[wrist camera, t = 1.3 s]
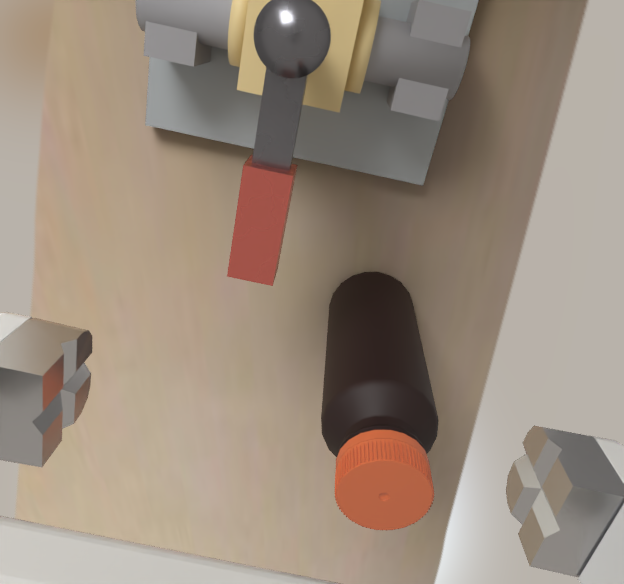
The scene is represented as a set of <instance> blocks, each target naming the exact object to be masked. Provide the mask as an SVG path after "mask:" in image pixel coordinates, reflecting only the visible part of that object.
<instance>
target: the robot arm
mask: <svg viewBox="0 0 624 584" xmlns="http://www.w3.org/2000/svg"><path fill="white" fill-rule="evenodd" d="M91 353H92V335H91V333H90V332H89V330H85V329H80V328H76V327H72V326H67V325H63V324H59V323H54V322H50V321H46V320H41V319H37V318H32V317H29V316H24V315H19V314H14V313H9V312H1V313H0V460H3V461H9V462H14V463H20V464H26V465H32V466H38V467H43V465H44V464H45V463H46V461H47V460H48V459H49V457H50V456H51V455H52V453H53V452H54V450H55V449H56V448H57V446H58V445H59V444H60V442H61V441H62V429H63V428H65V427H67V426H70V425H72V424H74V423H75V421H76V420H77V418H78V417H79V415H80V414H81V412H82V410H83V408H84V405H85V403H86V400H87V398H88V393H89V389H90V381H91V373H90V371H89V369H88V368H87V366H86V365H85V363H84V362H85V360H86V359H87V358H88V357H89V355H90V354H91ZM523 445H524V448H525V451H526V455H524V456H523V457H521V458H519V459H517V460H516V461H514V463H513V465H512V467H511V470H510V472H509V475H508V479H507V487H506V494H507V503H508V506H509V509H510V512H511V514H512V515H513V516H514V517H515V518H516V519H517V520H518V521H519V522H520V523H521V524H522V528H521V529H520V531H519V533H518V535H519V537H520V540H521V543H522V545H523V549H524V551H525V554H526V557H527V560H528V562H529V565H530V566H531V567H536V568H540V569H545V570H549V571H553V572H558V573H562V574H566V575H570V576H575V577H579V578H578V581H580V583H581V584H624V446H623V445H622V444H620V443H619V442H617V441H615V440H611V439H606V438H600V437H594V436H586V435H581V434H576V433H571V432H565V431H560V430H555V429H549V428H544V427H539V426H533V427H532V429H531V430H530V431H529V432H528V433H527V435H526V437H525V440H524V442H523ZM0 584H341V583H336V582H331V581H326V580H321V579H316V578H311V577H306V576H300V575H295V574H290V573H285V572H280V571H275V570H270V569H265V568H260V567H255V566H250V565H245V564H240V563H235V562H230V561H225V560H220V559H215V558H210V557H205V556H200V555H195V554H190V553H185V552H180V551H175V550H170V549H165V548H160V547H155V546H150V545H145V544H139V543H134V542H129V541H124V540H119V539H114V538H109V537H104V536H99V535H94V534H89V533H84V532H79V531H74V530H69V529H64V528H59V527H54V526H49V525H44V524H39V523H34V522H29V521H24V520H19V519H14V518H9V517H4V516H0Z"/></svg>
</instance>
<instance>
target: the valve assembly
mask: <svg viewBox="0 0 624 584" xmlns="http://www.w3.org/2000/svg"><path fill="white" fill-rule="evenodd" d="M269 1H271V0H136V15H137V20H138V24H139V26H140V28H141V30H142V31H145V43H144V56H148V57H150V60H149V76H148V92H147V108H146V124H145V125H147V126H152V127H157V128H161V129H166V130H170V131H175V132H180V133H184V134H189V135H193V136H198V137H202V138H207V139H212V140H216V141H221V142H225V143H230V144H235V145H239V146H244V147H248V148H253V149H254V145H255V138H256V132H257V125H258V118H259V112H260V105H261V99H262V92H263V86H264V79H265V73H266V66H265V65H264V64H263V63H262V61H261V60H260V58H259V56H258V54H257V52H256V48H255V45H254V26H255V22H256V19H257V17H258V15H259V13H260V11H261V10H262V8H263V7H264V6H265V5H266V4H267V3H268V2H269ZM312 1H314V2H315V3H316V4H318V5H319V6H320V7H321V9H322V10H323V11H324V13H325V14H326V16H327V18H328V21H329V24H330V28H331V44H330V48H329V51H328V54H327V56H326V57H325V59H324V61H323V62H322V63H321V65H320V66H319V67H318V68H317V69H316V70H315V71H313V72H312V73H310V74H309V75H308V79H307V84H306V89H305V95H304V100H303V105H302V111H301V116H300V122H299V127H298V132H297V138H296V143H295V148H294V154H293V157H294V158H299V159H303V160H308V161H313V162H317V163H322V164H326V165H331V166H335V167H340V168H345V169H349V170H354V171H358V172H363V173H368V174H372V175H377V176H381V177H386V178H391V179H395V180H400V181H404V182H409V183H413V184H418V185H423V184H424V181H425V177H426V174H427V171H428V167H429V164H430V161H431V157H432V154H433V151H434V147H435V144H436V141H437V137H438V134H439V131H440V127H441V124H442V121H443V118H444V114H445V111H446V108H447V104H448V101H449V100H451V99H452V98H453V97H454V95H455V94H456V92H457V90H458V88H459V85H460V83H461V80H462V77H463V74H464V71H465V68H466V64H467V60H468V55H469V50H470V37H469V36H468V34H469V31H470V28H471V24H472V21H473V18H474V14H475V11H476V8H477V4H478V1H479V0H312Z"/></svg>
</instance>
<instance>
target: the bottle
mask: <svg viewBox="0 0 624 584" xmlns="http://www.w3.org/2000/svg"><path fill="white" fill-rule="evenodd" d="M321 422H322V435H323V437H324V439H325V442H326V444H327V446H328V448H329V450H330V451H331V452H332V453H333V454H334V455H335V456H336V457H337V458H336V474H335V497H336V501H337V502H336V503H337V504H338V506H339V509H341V512H343V513H344V515H346V517H348V518H349V519H350V520H352V521H353V522H355V523H357V524H359V525H361V526H362V527H366V528H370V529H375V530H395V529H399V528H403V527H407V526H408V525H410V524H414V523H415V522H417V521H418V520H420V518H421V517H423V516H424V515H426V512H428V510H430V507H431V504H433V503H432V501H433V498H434V488H433V483H432V477H431V471H430V465H429V460H428V457H427V453H428V452H429V451H430V449H431V447H432V445H433V443H434V441H435V439H436V437H437V430H438V416H437V411H436V407H435V402H434V398H433V393H432V389H431V384H430V380H429V375H428V371H427V366H426V362H425V357H424V352H423V348H422V343H421V339H420V334H419V330H418V325H417V321H416V316H415V312H414V307H413V303H412V300H411V297H410V294H409V292H408V291H407V290H406V288H405V287H404V286H403V284H402V283H401V282H399V281H398V280H396V279H394V278H393V277H391V276H389V275H386V274H382V273H379V272H364V273H361V274H357V275H354V276H352V277H350V278H349V279H347V280H346V281H344V282H343V283H341V285H340V286H339V287H338V288H337V290H336V291H335V292H334V293H333V296H332V299H331V302H330V306H329V319H328V333H327V347H326V361H325V374H324V388H323V402H322V415H321Z"/></svg>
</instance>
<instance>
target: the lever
mask: <svg viewBox="0 0 624 584" xmlns="http://www.w3.org/2000/svg"><path fill="white" fill-rule="evenodd" d="M330 44H331V28H330V24H329V21H328V18H327V16H326V14H325V13H324V11H323V10H322V9H321V7H320V6H319V5H318V4H316V3H315V2H314V1H312V0H271V1H269V2H268V3H267V4H266V5H265V6H264V7H263V8H262V10H261V11H260V13H259V15H258V17H257V19H256V22H255V26H254V45H255V48H256V52H257V54H258V56H259V58H260V60H261V61H262V63H263V64H264V65H265V66H266V73H265V79H264V86H263V92H262V99H261V105H260V112H259V118H258V125H257V132H256V138H255V145H254V151H253V155H251V156H250V157H249V158H248V160H247V161H246V162H245V164H244V165H243V172H242V178H241V185H240V192H239V199H238V206H237V213H236V219H235V226H234V233H233V240H232V247H231V254H230V260H229V267H228V274H227V276H228V277H233V278H237V279H242V280H247V281H252V282H257V283H261V284H266V285H271V286H273V282H274V279H275V276H276V272H277V269H278V264H279V258H280V253H281V248H282V243H283V237H284V232H285V227H286V222H287V216H288V211H289V206H290V201H291V196H292V190H293V185H294V180H295V175H296V169H297V165H295V164H292V159H293V154H294V148H295V143H296V138H297V132H298V127H299V122H300V116H301V111H302V105H303V100H304V95H305V89H306V84H307V79H308V75H309V74H310V73H312V72H313V71H315V70H316V69H317V68H318V67H319V66H320V65H321V63H322V62H323V61H324V59H325V57H326V56H327V54H328V51H329V48H330Z"/></svg>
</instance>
